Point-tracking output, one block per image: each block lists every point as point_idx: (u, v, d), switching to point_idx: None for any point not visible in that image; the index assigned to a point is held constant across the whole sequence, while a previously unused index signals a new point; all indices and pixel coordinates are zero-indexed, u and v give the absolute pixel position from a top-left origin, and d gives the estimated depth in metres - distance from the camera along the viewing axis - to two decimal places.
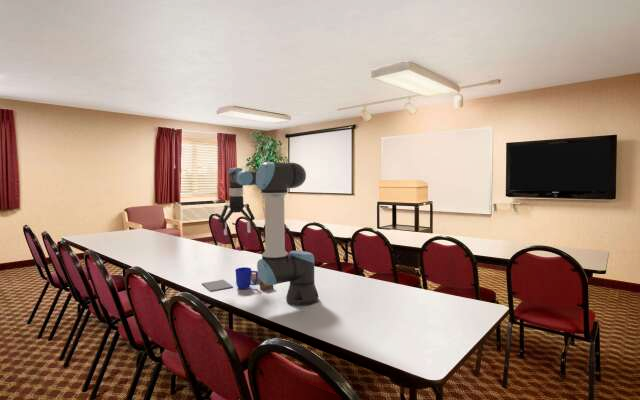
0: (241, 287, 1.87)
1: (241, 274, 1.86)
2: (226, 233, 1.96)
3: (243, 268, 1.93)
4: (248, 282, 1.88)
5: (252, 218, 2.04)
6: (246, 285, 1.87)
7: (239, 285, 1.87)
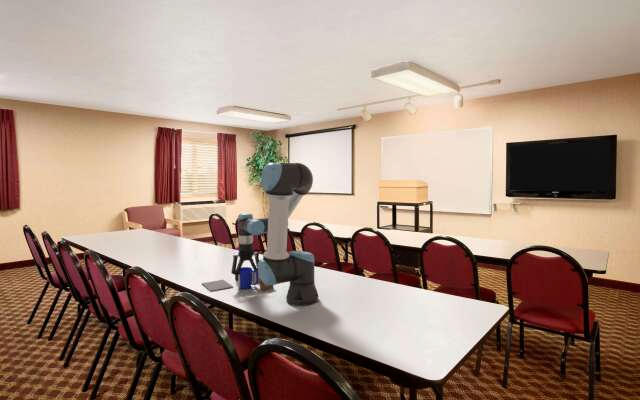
0: (242, 287, 1.87)
1: (242, 274, 1.86)
2: (239, 285, 1.86)
3: (244, 268, 1.93)
4: (249, 282, 1.88)
5: None
6: (247, 285, 1.88)
7: (240, 285, 1.87)
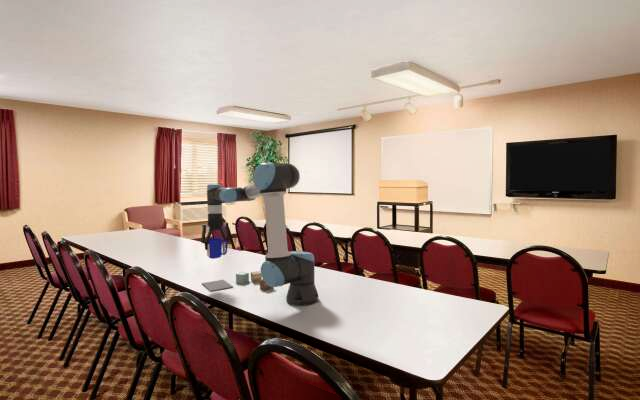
0: (211, 256, 1.91)
1: (211, 244, 1.90)
2: (209, 254, 1.90)
3: (215, 239, 1.97)
4: (218, 252, 1.92)
5: (227, 238, 1.95)
6: (216, 255, 1.91)
7: None
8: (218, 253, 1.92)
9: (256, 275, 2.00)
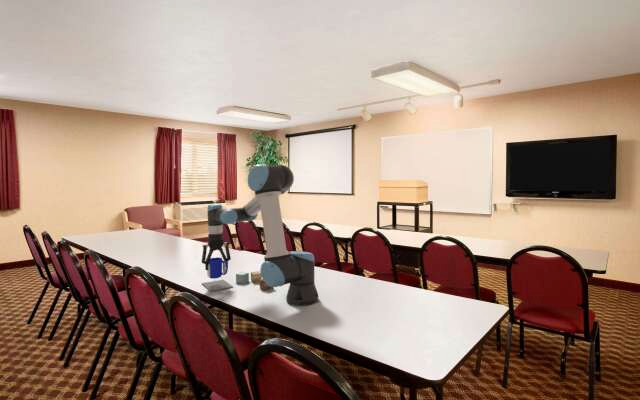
0: (212, 277, 1.91)
1: (211, 264, 1.90)
2: (209, 274, 1.90)
3: (215, 258, 1.98)
4: (219, 272, 1.92)
5: (228, 258, 1.96)
6: (217, 275, 1.92)
7: (210, 275, 1.92)
8: (218, 273, 1.92)
9: (256, 275, 2.00)
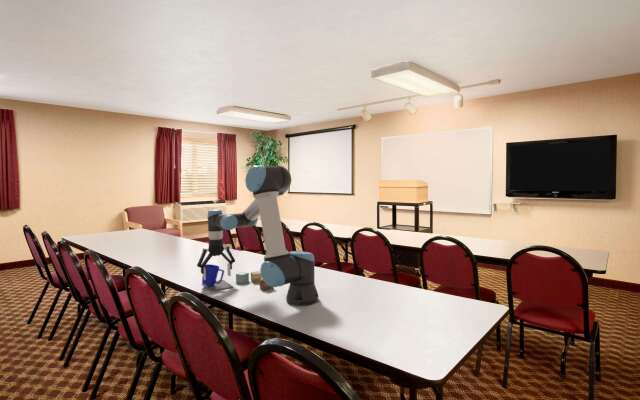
0: (205, 283, 1.89)
1: (207, 270, 1.89)
2: (205, 278, 1.89)
3: (212, 265, 1.97)
4: (213, 279, 1.90)
5: (232, 261, 1.97)
6: (210, 282, 1.90)
7: (203, 280, 1.90)
8: (212, 281, 1.90)
9: (256, 275, 2.00)
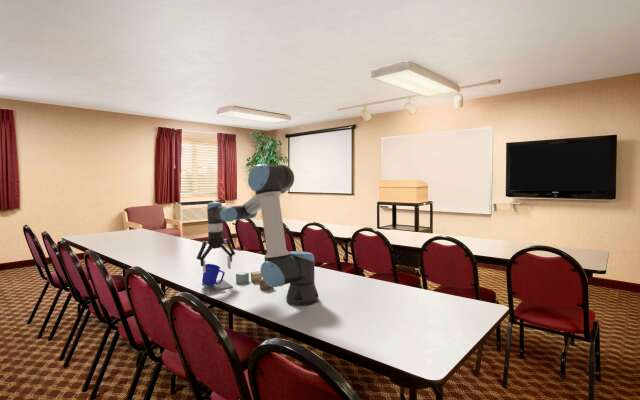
0: (205, 283, 1.89)
1: (208, 270, 1.88)
2: (205, 270, 1.89)
3: (213, 265, 1.96)
4: (213, 280, 1.90)
5: (232, 253, 1.97)
6: (210, 282, 1.89)
7: (203, 280, 1.89)
8: (212, 281, 1.90)
9: (256, 275, 2.00)
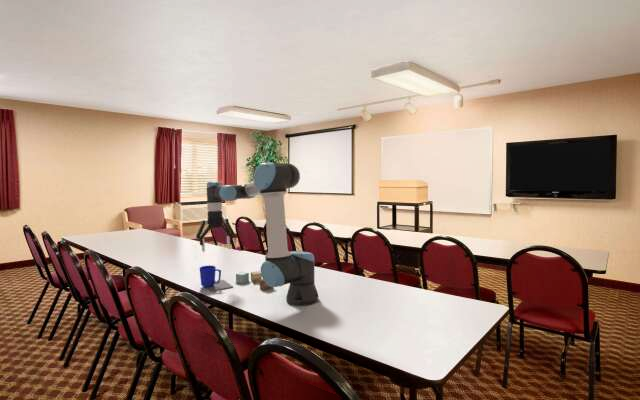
0: (204, 285, 1.89)
1: (204, 272, 1.88)
2: (204, 250, 1.88)
3: (209, 266, 1.96)
4: (211, 280, 1.90)
5: (232, 233, 1.96)
6: (209, 283, 1.89)
7: (202, 283, 1.89)
8: (211, 282, 1.90)
9: (256, 275, 2.00)
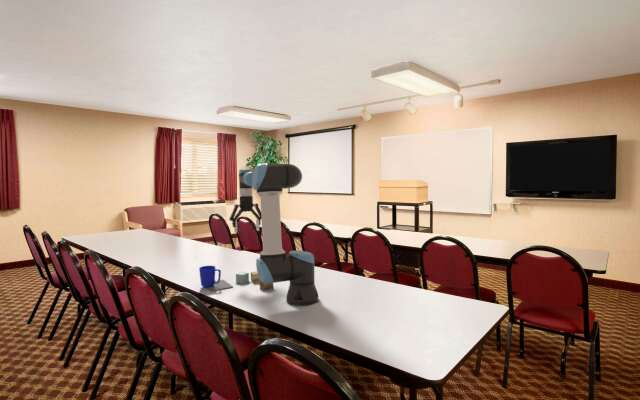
0: (204, 285, 1.89)
1: (204, 272, 1.88)
2: (236, 231, 2.06)
3: (208, 266, 1.95)
4: (211, 280, 1.90)
5: (261, 217, 2.14)
6: (209, 283, 1.89)
7: (202, 283, 1.89)
8: (211, 282, 1.90)
9: (256, 275, 2.00)
